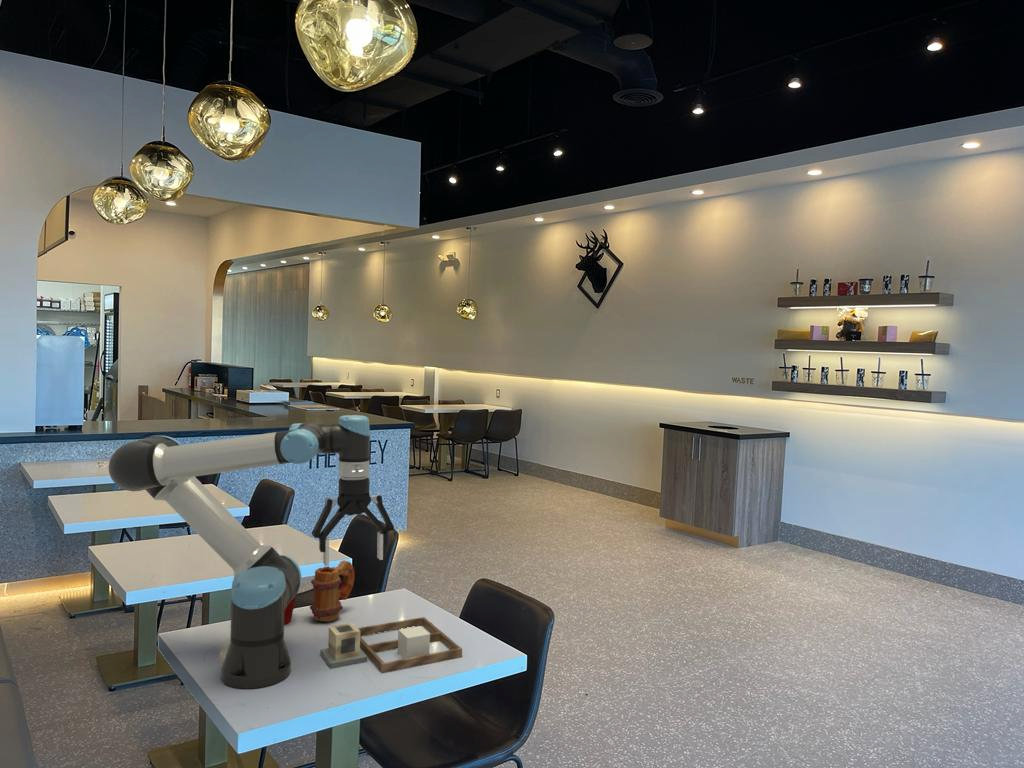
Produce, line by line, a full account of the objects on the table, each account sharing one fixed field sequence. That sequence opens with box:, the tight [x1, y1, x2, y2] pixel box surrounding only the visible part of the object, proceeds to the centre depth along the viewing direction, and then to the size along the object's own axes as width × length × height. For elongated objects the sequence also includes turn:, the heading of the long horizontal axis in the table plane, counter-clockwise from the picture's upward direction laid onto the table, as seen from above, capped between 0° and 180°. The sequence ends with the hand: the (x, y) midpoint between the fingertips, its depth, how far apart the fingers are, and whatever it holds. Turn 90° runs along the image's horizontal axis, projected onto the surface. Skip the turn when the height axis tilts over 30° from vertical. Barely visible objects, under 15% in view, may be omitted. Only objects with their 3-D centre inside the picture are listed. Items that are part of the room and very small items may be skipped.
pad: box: [319, 647, 368, 669], centre depth 175 cm, size 9×9×1 cm
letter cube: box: [327, 622, 361, 660], centre depth 175 cm, size 6×6×6 cm
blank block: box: [397, 626, 431, 659], centre depth 178 cm, size 6×6×6 cm
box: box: [357, 616, 463, 674], centre depth 183 cm, size 21×24×2 cm
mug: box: [309, 560, 356, 623], centre depth 202 cm, size 15×8×15 cm, turn 147°
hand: (353, 561), depth 179 cm, fingers open, 13 cm apart
